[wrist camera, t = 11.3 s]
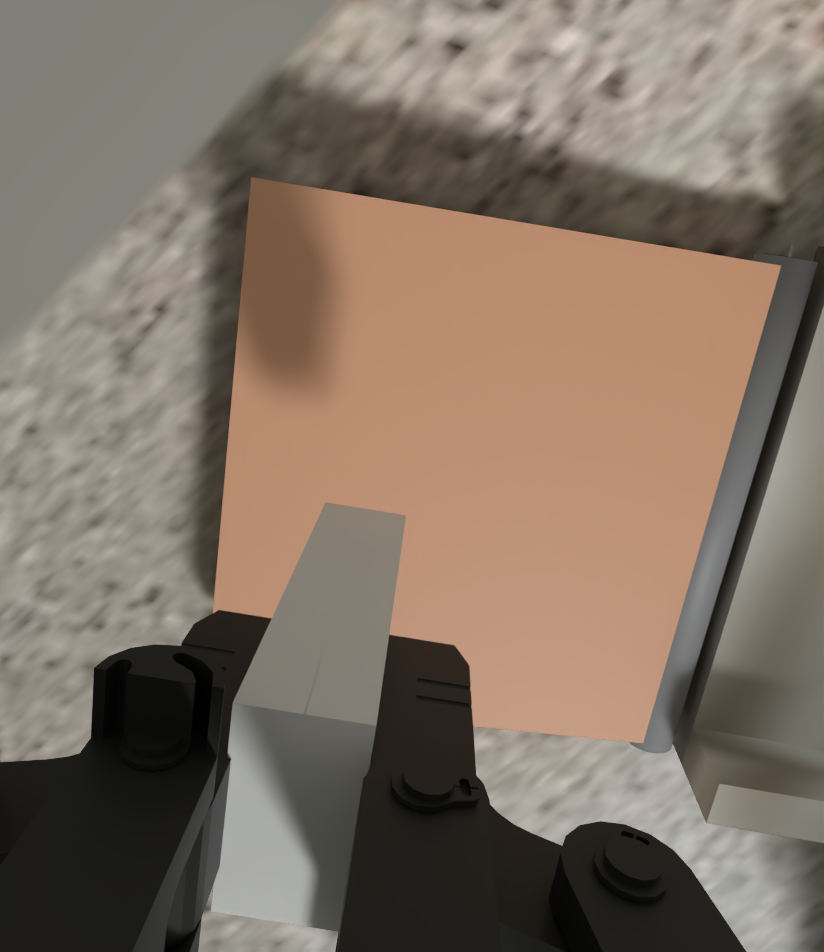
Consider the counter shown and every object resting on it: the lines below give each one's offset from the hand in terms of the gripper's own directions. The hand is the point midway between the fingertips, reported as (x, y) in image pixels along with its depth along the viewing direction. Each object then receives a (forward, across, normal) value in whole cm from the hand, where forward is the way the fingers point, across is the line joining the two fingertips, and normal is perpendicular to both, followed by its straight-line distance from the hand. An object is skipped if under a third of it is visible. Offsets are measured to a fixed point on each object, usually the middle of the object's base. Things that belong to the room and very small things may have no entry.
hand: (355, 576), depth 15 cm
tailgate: (+6, -8, 0) cm, 10 cm away
